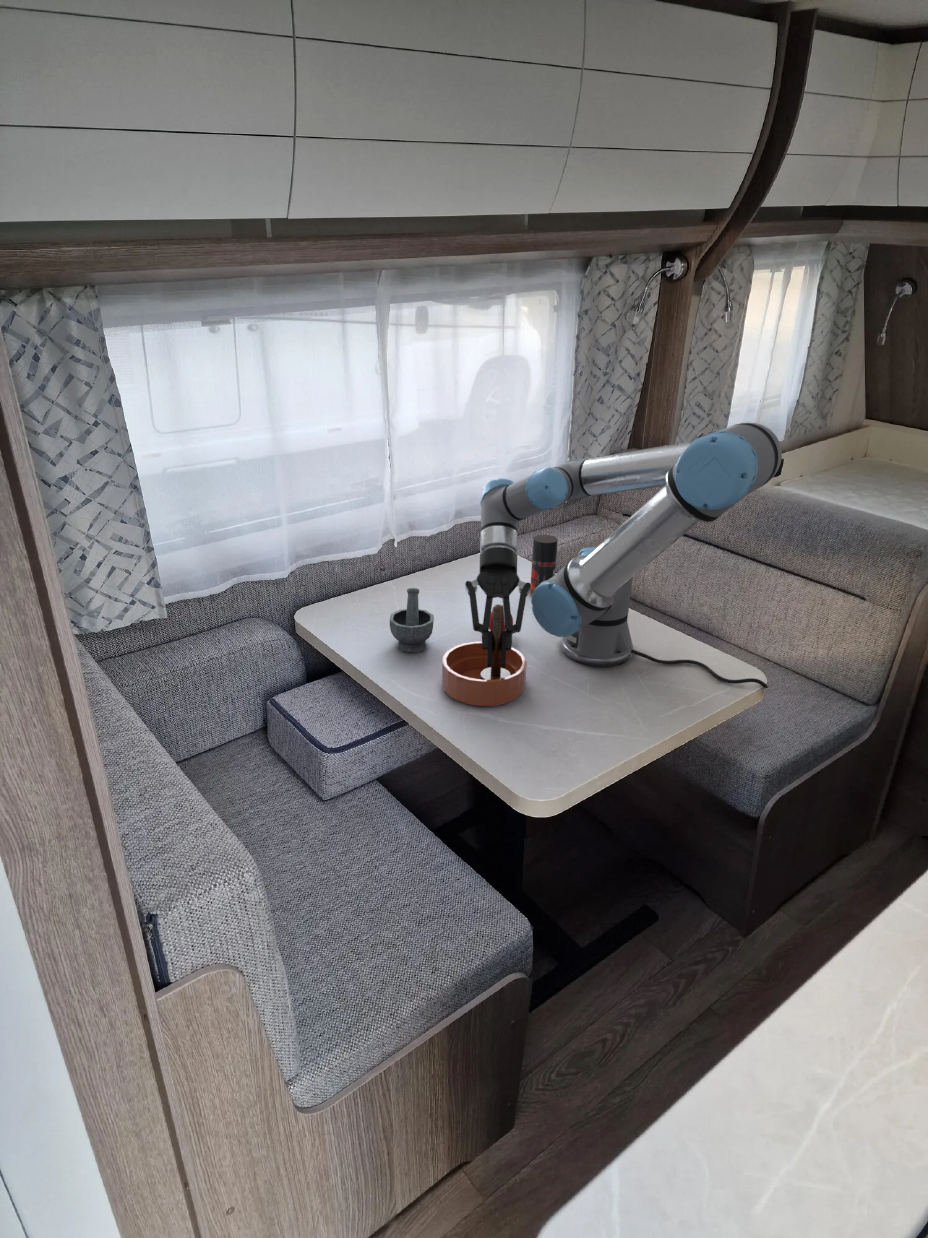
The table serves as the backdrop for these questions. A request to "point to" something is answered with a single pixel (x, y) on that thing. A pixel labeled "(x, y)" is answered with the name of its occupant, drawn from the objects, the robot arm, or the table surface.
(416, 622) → the mortar and pestle
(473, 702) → the bowl
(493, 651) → the wooden peg stand
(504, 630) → the onion
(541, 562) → the deodorant
